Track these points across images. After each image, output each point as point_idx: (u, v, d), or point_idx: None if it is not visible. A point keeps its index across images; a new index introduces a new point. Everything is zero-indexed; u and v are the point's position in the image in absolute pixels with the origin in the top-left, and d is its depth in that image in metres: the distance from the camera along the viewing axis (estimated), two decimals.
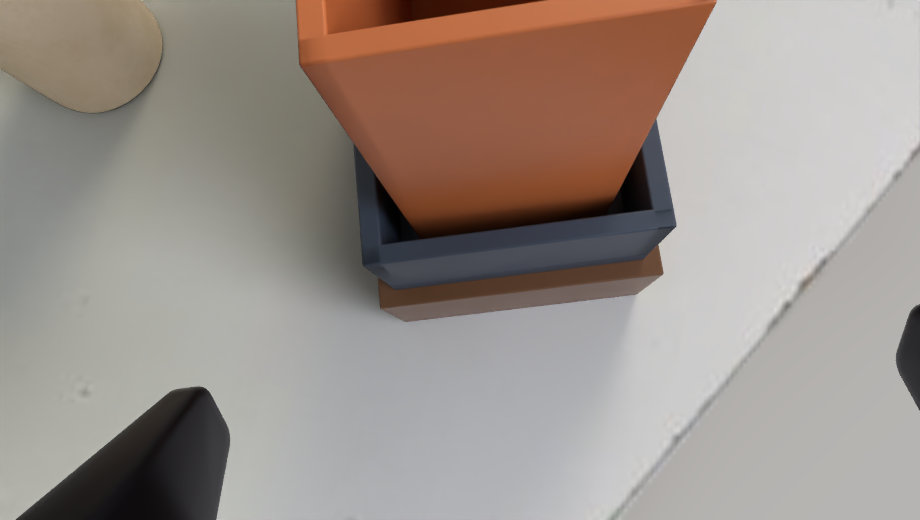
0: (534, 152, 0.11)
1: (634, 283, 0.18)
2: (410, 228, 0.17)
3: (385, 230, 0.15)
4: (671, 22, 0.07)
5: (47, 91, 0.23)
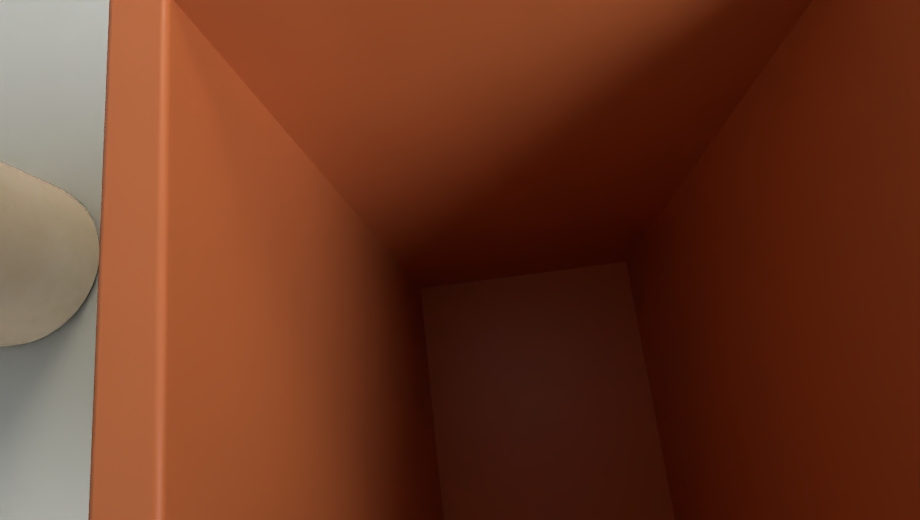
0: None
1: None
2: None
3: None
4: None
5: None
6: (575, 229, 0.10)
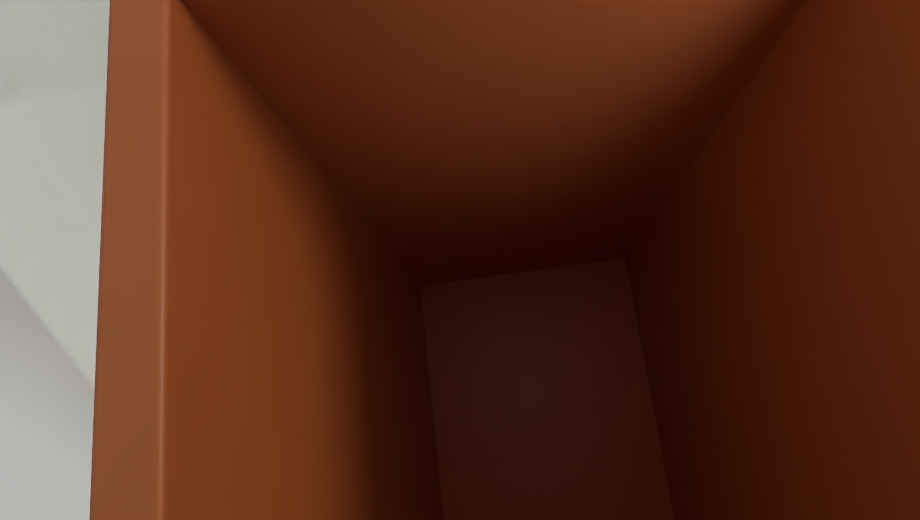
0: None
1: None
2: None
3: None
4: None
5: None
6: (574, 225, 0.10)
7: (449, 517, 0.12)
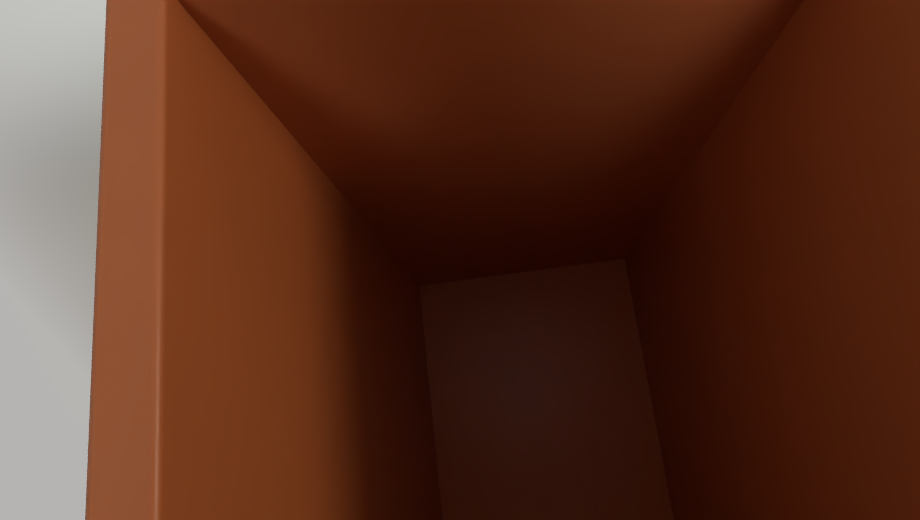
0: None
1: None
2: None
3: None
4: None
5: None
6: (573, 225, 0.10)
7: (448, 517, 0.12)
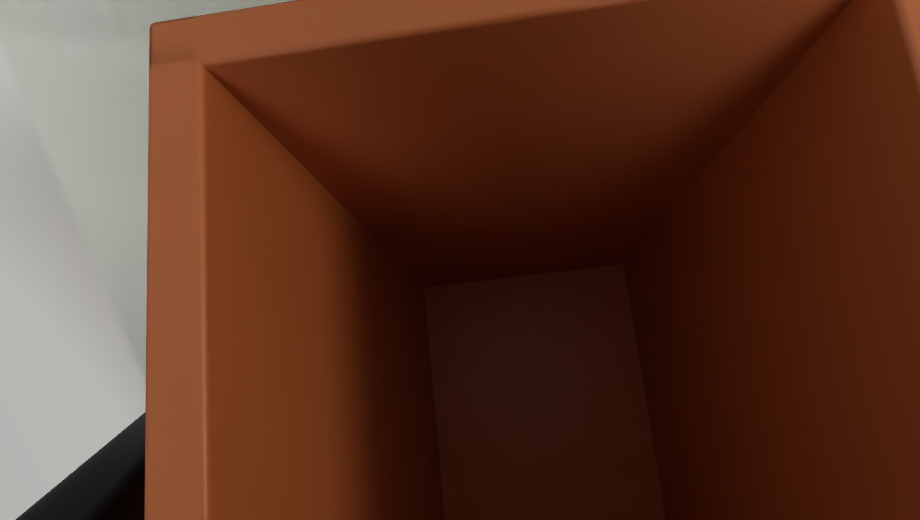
0: None
1: None
2: None
3: None
4: None
5: None
6: (574, 239, 0.10)
7: (450, 510, 0.12)
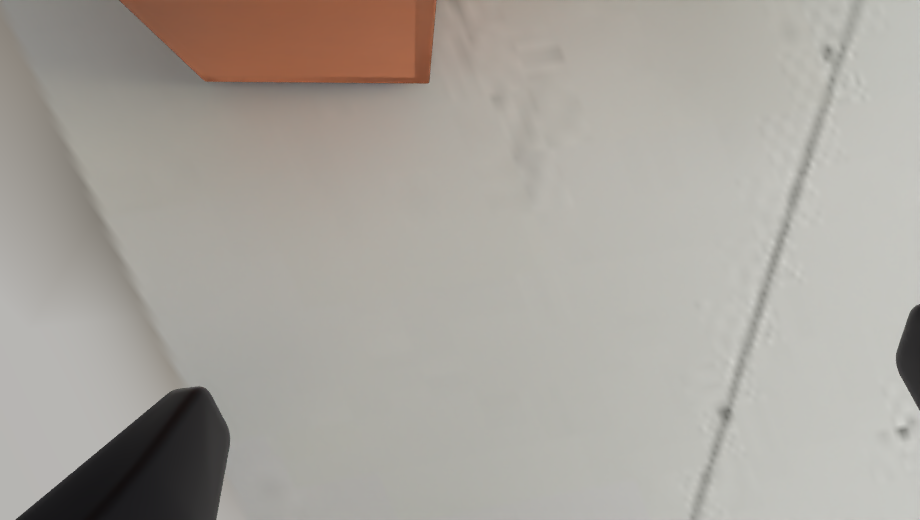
0: None
1: None
2: None
3: None
4: None
5: None
6: None
7: None
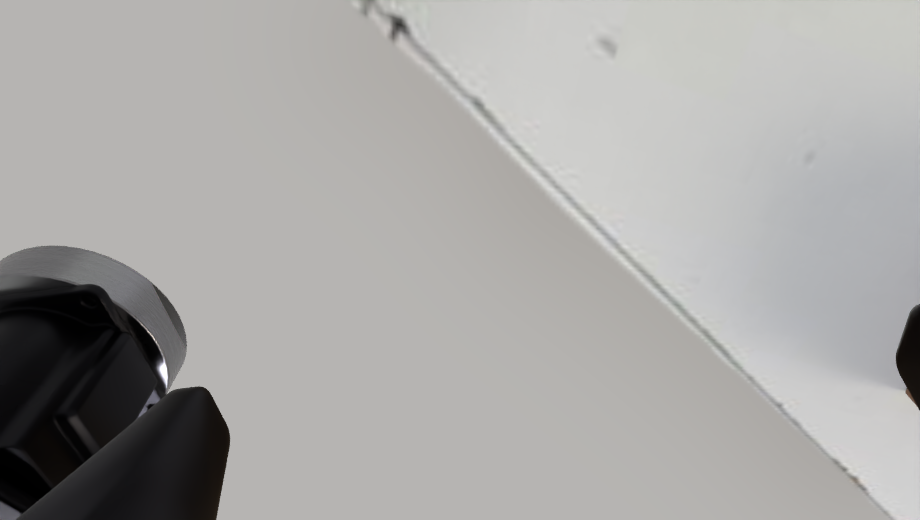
0: None
1: None
2: None
3: None
4: None
5: None
6: None
7: None
